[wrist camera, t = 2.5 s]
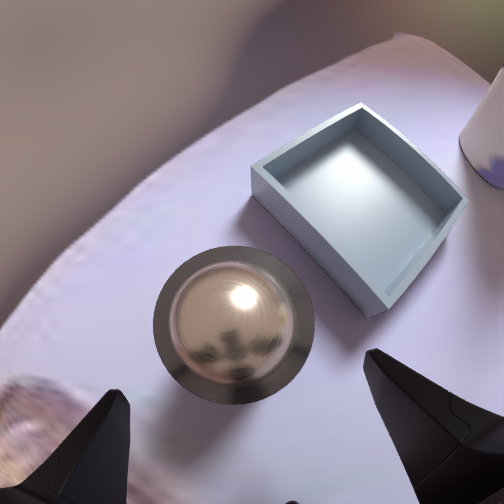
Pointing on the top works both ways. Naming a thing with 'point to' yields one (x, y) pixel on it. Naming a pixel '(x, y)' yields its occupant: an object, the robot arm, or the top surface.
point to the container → (487, 135)
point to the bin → (360, 204)
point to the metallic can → (233, 325)
